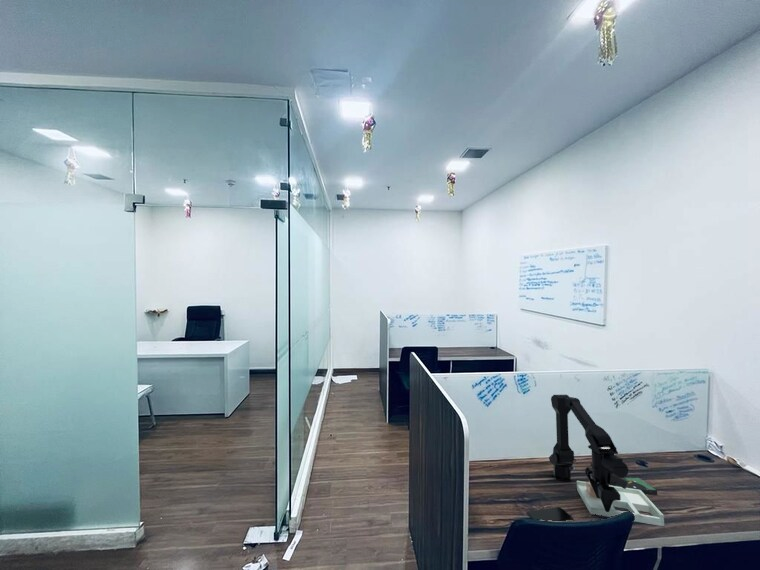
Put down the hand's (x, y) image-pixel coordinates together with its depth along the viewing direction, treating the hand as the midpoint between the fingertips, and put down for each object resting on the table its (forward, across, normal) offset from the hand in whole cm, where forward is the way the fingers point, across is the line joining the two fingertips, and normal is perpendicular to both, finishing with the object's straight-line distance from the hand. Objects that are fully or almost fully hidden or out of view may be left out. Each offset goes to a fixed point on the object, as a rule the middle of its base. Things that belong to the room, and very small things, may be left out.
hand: (602, 504), depth 123 cm
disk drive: (+4, +24, -19) cm, 31 cm away
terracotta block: (+1, +8, 0) cm, 9 cm away
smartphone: (+4, -8, +21) cm, 23 cm away
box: (+3, +7, -7) cm, 10 cm away
